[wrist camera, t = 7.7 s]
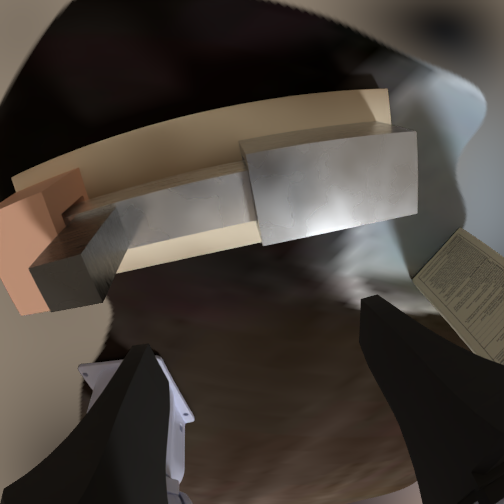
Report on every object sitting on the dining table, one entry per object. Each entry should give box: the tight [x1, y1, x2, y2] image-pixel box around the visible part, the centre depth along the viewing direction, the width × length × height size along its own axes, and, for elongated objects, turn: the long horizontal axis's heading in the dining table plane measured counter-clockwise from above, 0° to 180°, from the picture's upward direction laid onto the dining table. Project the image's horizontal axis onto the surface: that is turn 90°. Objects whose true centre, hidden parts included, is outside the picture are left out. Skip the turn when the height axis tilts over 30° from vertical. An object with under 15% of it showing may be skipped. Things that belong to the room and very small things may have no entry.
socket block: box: [0, 168, 89, 316], centre depth 15 cm, size 6×5×5 cm
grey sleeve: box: [239, 121, 418, 246], centre depth 15 cm, size 4×8×4 cm, turn 100°
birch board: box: [12, 88, 391, 273], centre depth 18 cm, size 8×23×1 cm, turn 100°
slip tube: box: [28, 160, 257, 312], centre depth 13 cm, size 2×15×7 cm, turn 100°
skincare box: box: [412, 228, 504, 365], centre depth 18 cm, size 6×4×12 cm
